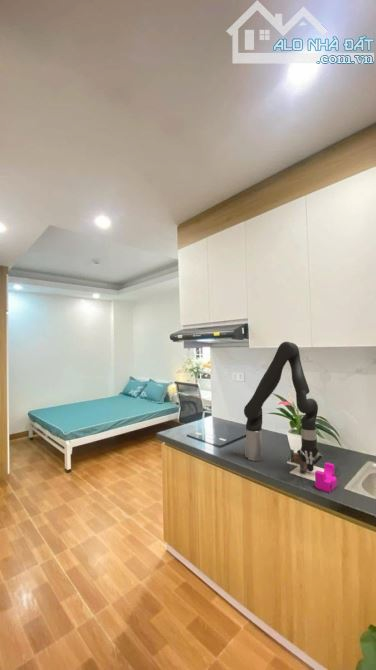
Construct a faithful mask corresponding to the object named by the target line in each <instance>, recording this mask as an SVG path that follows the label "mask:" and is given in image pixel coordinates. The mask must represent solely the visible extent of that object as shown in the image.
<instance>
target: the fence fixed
mask: <svg viewBox="0 0 376 670" xmlns="http://www.w3.org/2000/svg"><path fill="white" fill-rule="evenodd" d="M304 456H305V455H304ZM305 457H306V456H305ZM290 460H291V462H294V463H298V464H300V460H302V459H301V457H300V456H299V454H298V453H297V452H295V450H294V449H290Z"/></svg>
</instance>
